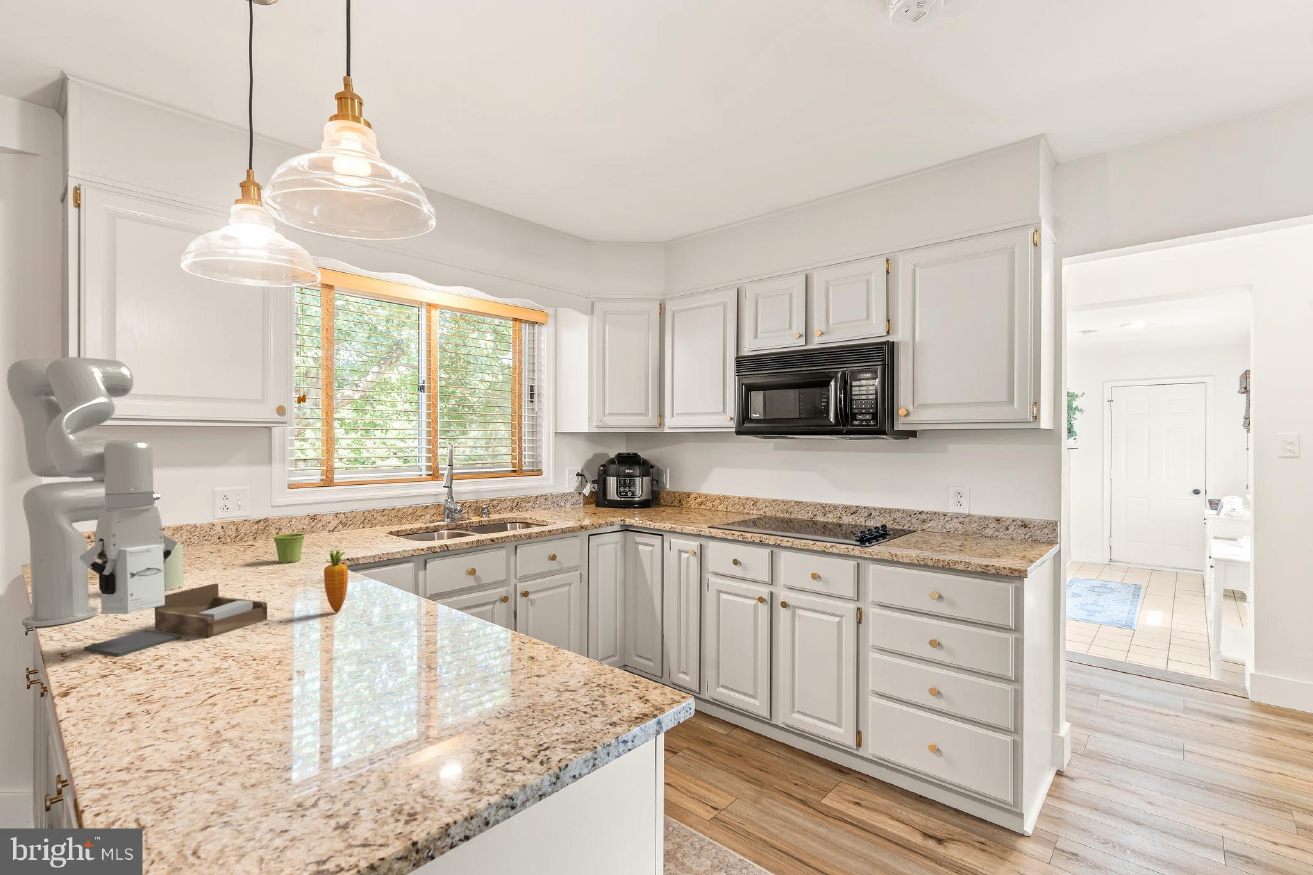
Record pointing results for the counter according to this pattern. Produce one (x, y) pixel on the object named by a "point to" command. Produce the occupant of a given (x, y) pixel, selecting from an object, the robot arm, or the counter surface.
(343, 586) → the carrot
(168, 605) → the walnut rack
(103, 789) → the counter surface
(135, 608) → the supplement box
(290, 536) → the plant pot
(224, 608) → the upper offcut
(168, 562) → the can
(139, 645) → the rubber mat
